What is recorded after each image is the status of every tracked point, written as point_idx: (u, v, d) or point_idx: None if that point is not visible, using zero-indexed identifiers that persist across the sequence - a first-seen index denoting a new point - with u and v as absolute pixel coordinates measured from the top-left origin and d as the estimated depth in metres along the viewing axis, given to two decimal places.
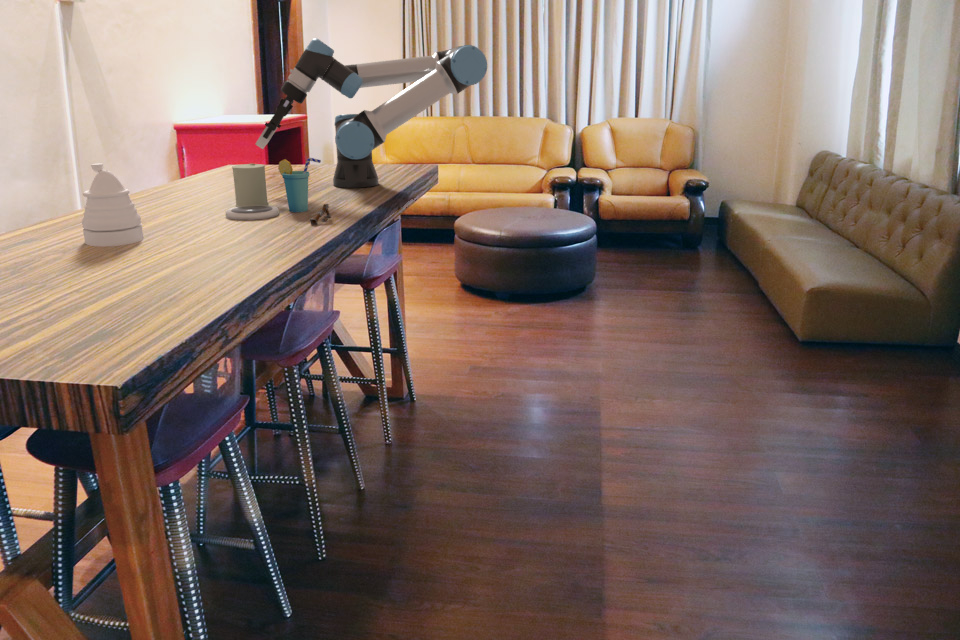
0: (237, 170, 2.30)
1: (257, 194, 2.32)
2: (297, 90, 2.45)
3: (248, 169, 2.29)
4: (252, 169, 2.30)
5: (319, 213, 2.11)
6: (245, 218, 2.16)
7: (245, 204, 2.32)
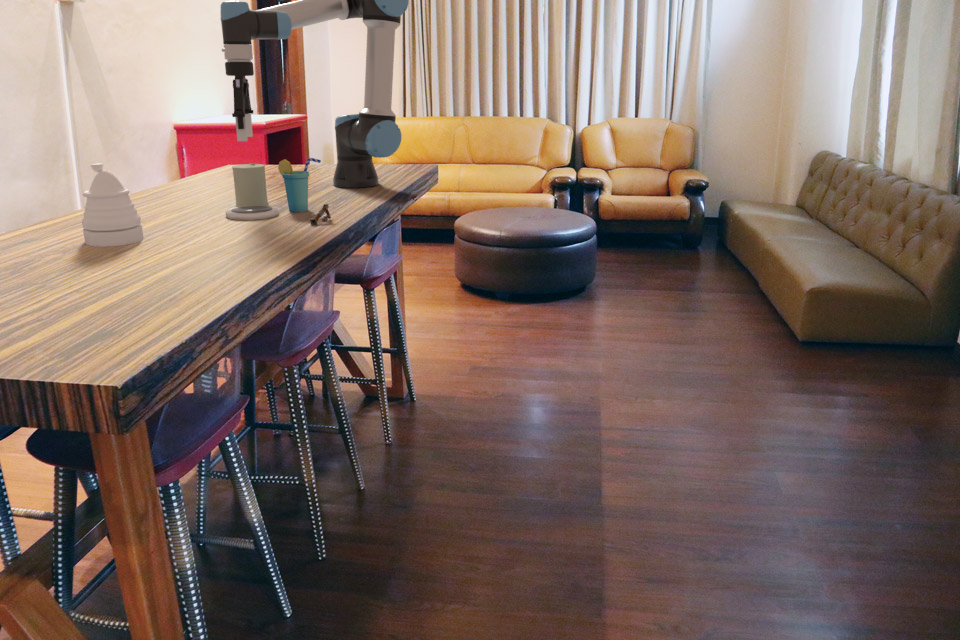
0: (237, 170, 2.30)
1: (257, 194, 2.32)
2: (240, 64, 2.22)
3: (248, 169, 2.29)
4: (252, 169, 2.30)
5: (319, 213, 2.11)
6: (245, 218, 2.16)
7: (245, 204, 2.32)
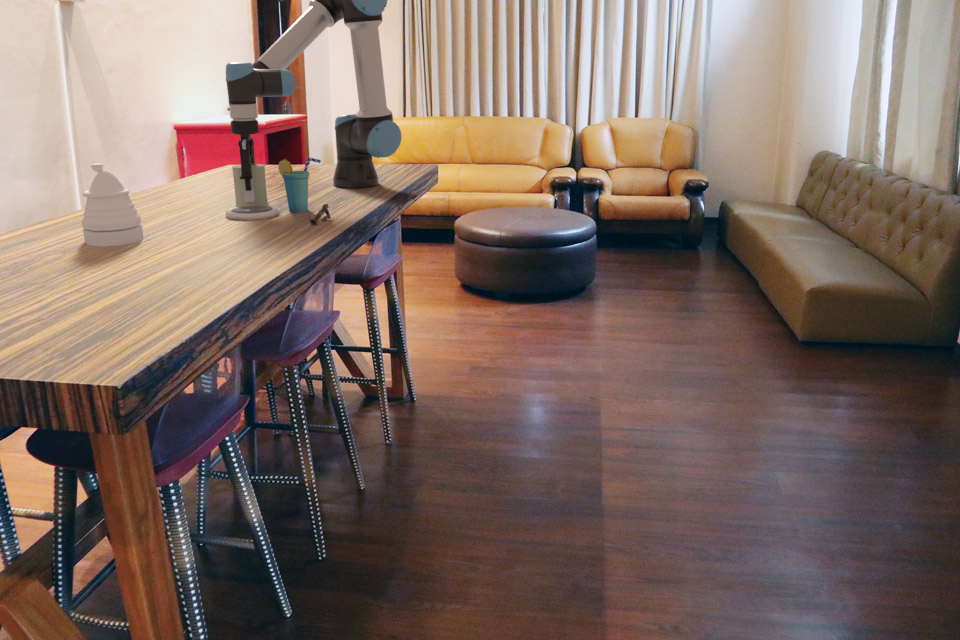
0: (237, 170, 2.30)
1: (257, 194, 2.32)
2: (245, 123, 2.26)
3: None
4: (252, 169, 2.30)
5: (319, 213, 2.11)
6: (245, 218, 2.16)
7: (245, 204, 2.32)
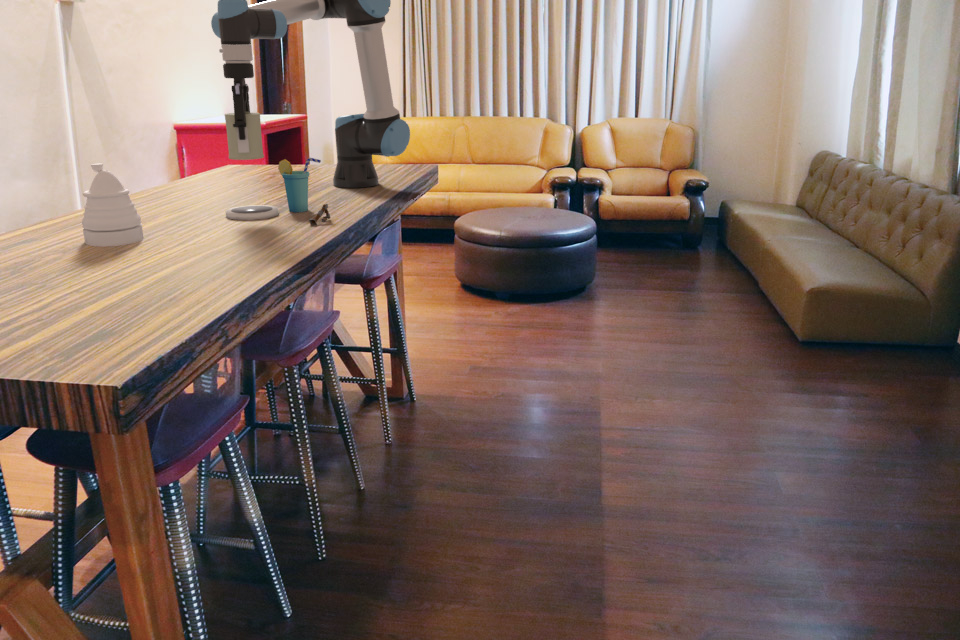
0: (230, 117, 2.11)
1: (251, 144, 2.13)
2: (239, 65, 2.07)
3: None
4: (246, 116, 2.11)
5: (318, 213, 2.11)
6: (245, 218, 2.16)
7: (238, 155, 2.13)
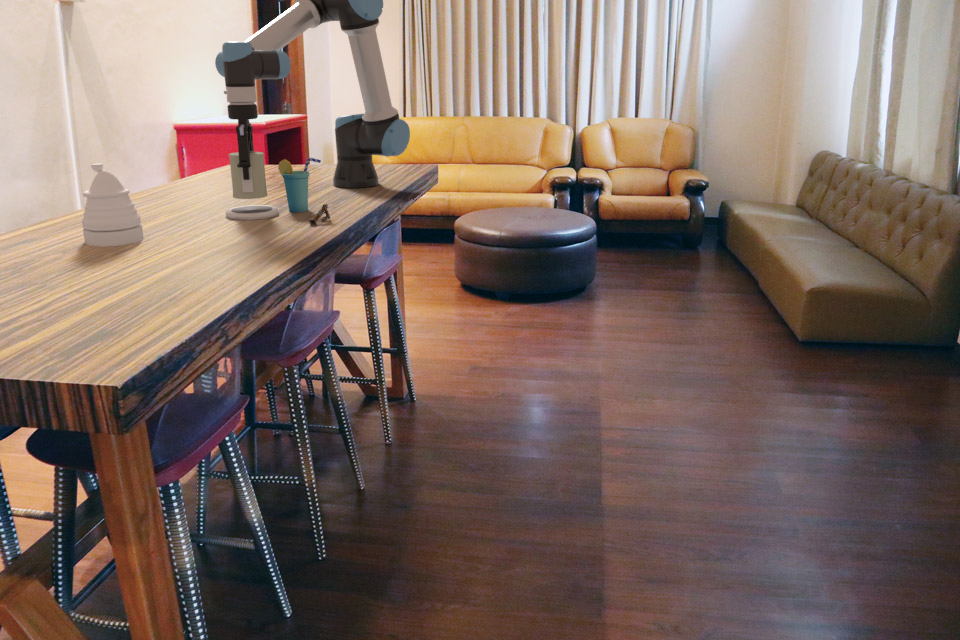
0: (234, 157, 2.14)
1: (255, 184, 2.16)
2: (243, 107, 2.10)
3: None
4: (250, 157, 2.14)
5: (318, 213, 2.11)
6: (245, 218, 2.16)
7: (243, 194, 2.16)
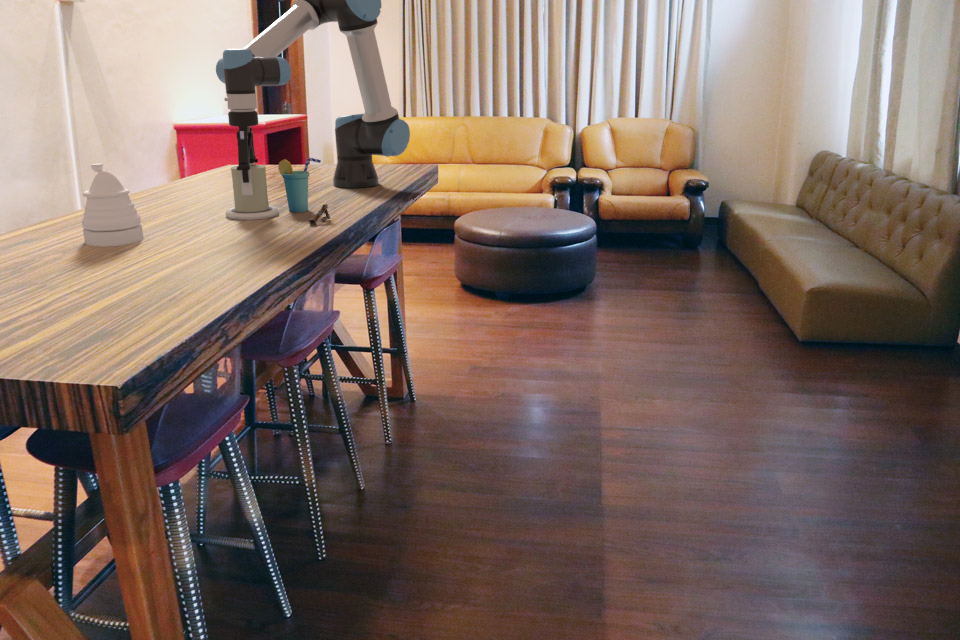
0: (236, 171, 2.15)
1: (257, 197, 2.18)
2: (244, 114, 2.11)
3: None
4: (252, 170, 2.15)
5: (318, 213, 2.11)
6: (245, 218, 2.16)
7: (244, 208, 2.18)
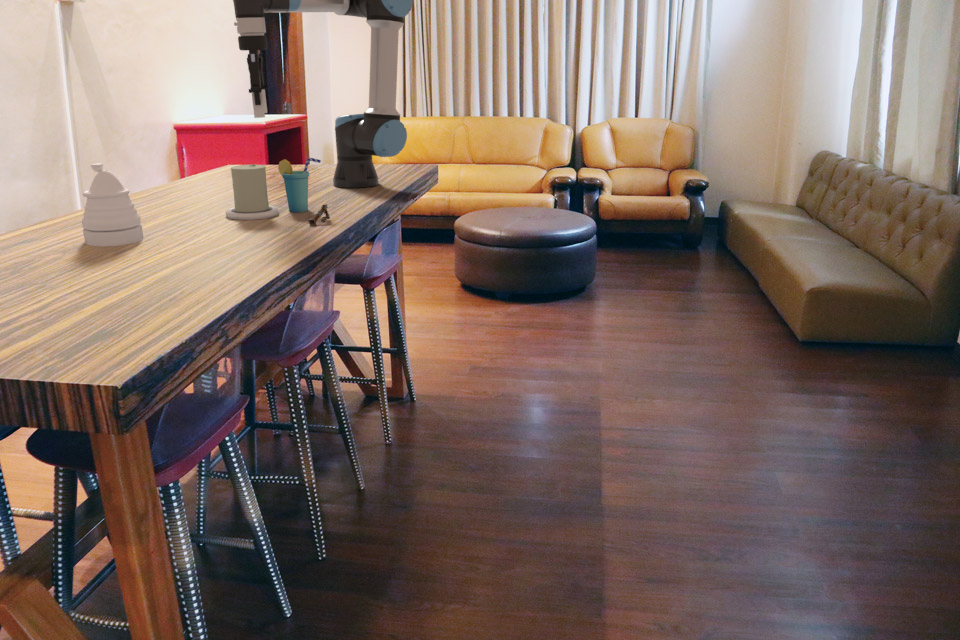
0: (236, 171, 2.15)
1: (257, 197, 2.18)
2: (253, 37, 2.16)
3: (248, 170, 2.15)
4: (252, 170, 2.15)
5: (318, 213, 2.11)
6: (245, 218, 2.16)
7: (244, 208, 2.18)
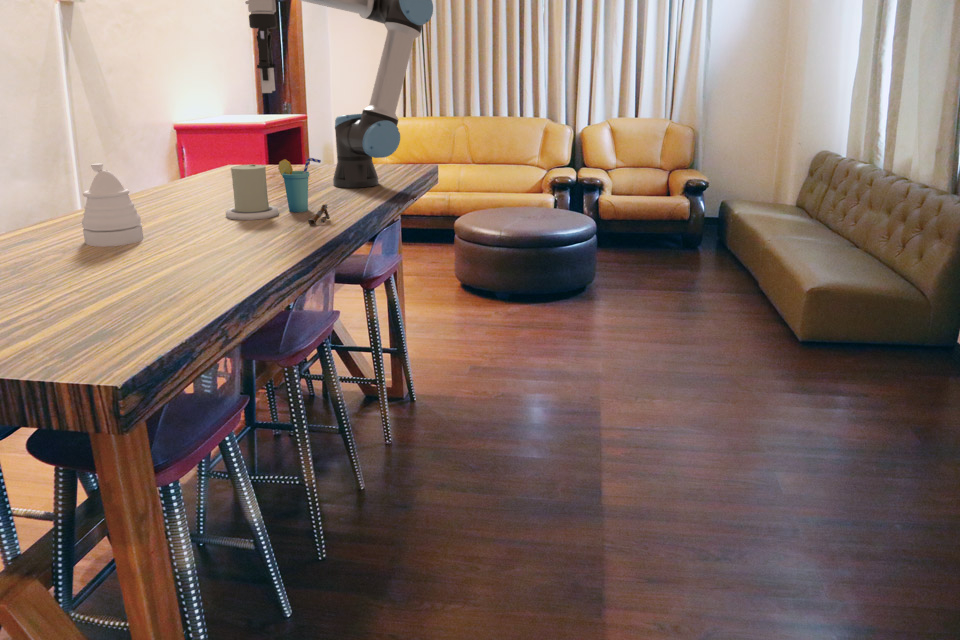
0: (236, 171, 2.15)
1: (257, 197, 2.18)
2: (264, 15, 2.24)
3: (248, 170, 2.15)
4: (252, 170, 2.15)
5: (318, 213, 2.11)
6: (245, 218, 2.16)
7: (244, 208, 2.18)
